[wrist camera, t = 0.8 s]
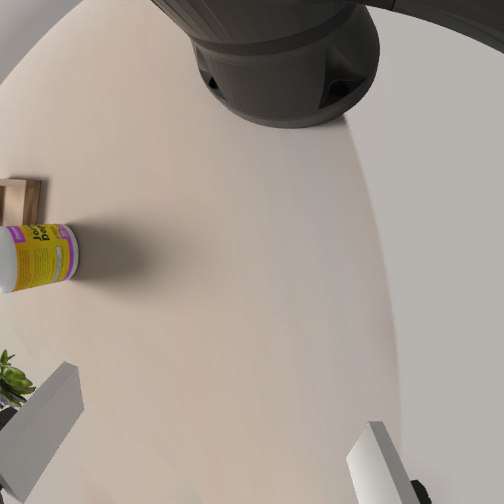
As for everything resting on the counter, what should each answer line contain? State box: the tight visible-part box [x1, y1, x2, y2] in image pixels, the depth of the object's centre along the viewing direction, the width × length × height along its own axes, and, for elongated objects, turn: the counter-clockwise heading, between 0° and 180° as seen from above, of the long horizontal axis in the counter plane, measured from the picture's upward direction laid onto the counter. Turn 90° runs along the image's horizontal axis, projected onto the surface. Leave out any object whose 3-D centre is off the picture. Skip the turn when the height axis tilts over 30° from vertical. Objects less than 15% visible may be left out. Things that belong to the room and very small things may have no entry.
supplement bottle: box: [0, 224, 79, 293], centre depth 24 cm, size 7×7×13 cm
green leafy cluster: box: [0, 350, 36, 409], centre depth 35 cm, size 11×11×12 cm
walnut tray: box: [0, 179, 41, 227], centre depth 32 cm, size 12×12×2 cm
